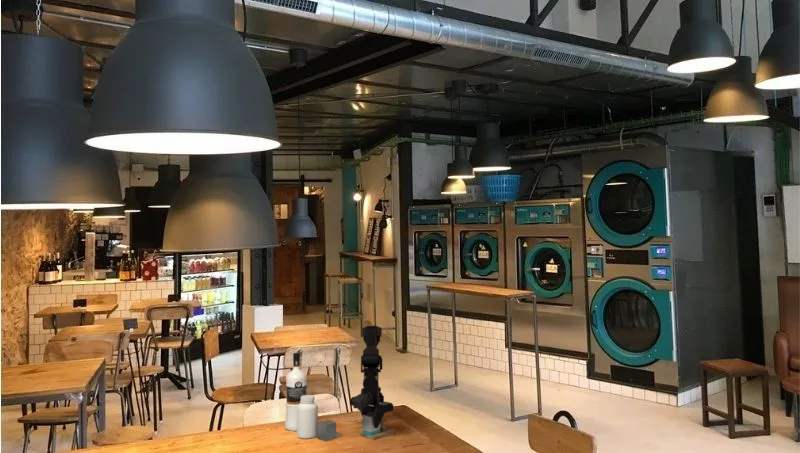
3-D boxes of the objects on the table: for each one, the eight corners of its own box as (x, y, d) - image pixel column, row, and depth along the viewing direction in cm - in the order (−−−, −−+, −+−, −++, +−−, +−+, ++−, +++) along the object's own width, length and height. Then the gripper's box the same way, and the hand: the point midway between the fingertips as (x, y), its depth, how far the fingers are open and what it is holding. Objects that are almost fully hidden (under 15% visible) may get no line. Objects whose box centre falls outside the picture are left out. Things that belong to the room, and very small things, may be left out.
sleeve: (362, 433, 216) (362, 414, 216) (371, 430, 219) (371, 412, 220) (371, 436, 213) (371, 417, 213) (379, 433, 216) (379, 414, 216)
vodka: (307, 423, 233) (307, 350, 234) (309, 430, 224) (308, 354, 225) (284, 425, 230) (284, 351, 232) (285, 432, 221) (285, 355, 223)
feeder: (317, 438, 214) (317, 422, 214) (333, 433, 220) (333, 417, 220) (325, 441, 210) (325, 425, 211) (342, 436, 216) (342, 420, 217)
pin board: (359, 435, 217) (359, 424, 217) (380, 428, 225) (379, 418, 225) (374, 440, 211) (374, 428, 212) (394, 433, 219) (394, 422, 220)
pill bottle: (321, 434, 219) (321, 395, 220) (310, 440, 212) (310, 400, 213) (304, 431, 223) (304, 393, 223) (292, 437, 215) (292, 397, 216)
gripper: (339, 385, 217) (339, 426, 217) (373, 393, 205) (373, 437, 204) (360, 380, 225) (360, 420, 225) (394, 387, 213) (394, 429, 212)
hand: (371, 426), depth 216 cm, fingers open, 5 cm apart
